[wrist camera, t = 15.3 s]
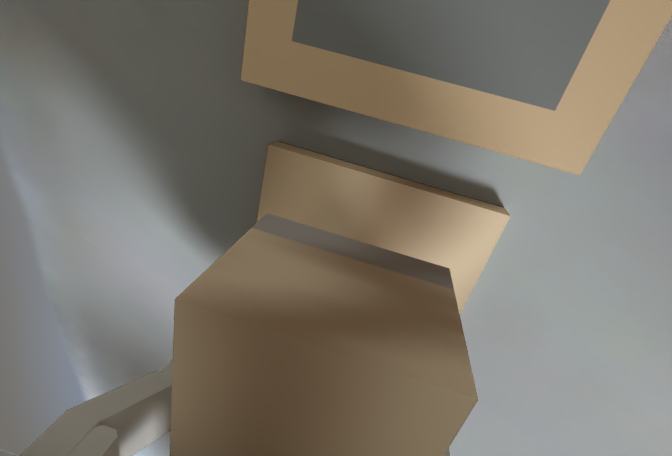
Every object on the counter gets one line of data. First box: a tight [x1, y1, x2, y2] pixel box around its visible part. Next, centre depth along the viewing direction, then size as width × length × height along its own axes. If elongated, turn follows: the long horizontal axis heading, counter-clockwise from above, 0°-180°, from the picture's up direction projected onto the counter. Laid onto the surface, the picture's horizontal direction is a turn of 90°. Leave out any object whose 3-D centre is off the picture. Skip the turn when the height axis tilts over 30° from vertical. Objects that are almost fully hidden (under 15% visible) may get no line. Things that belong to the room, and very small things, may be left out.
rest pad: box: [257, 141, 510, 315], centre depth 15 cm, size 9×11×1 cm
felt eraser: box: [170, 213, 478, 456], centre depth 9 cm, size 5×9×4 cm, turn 167°
